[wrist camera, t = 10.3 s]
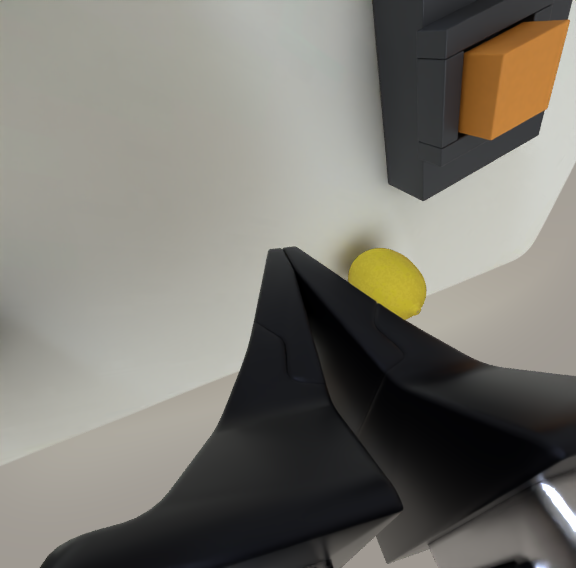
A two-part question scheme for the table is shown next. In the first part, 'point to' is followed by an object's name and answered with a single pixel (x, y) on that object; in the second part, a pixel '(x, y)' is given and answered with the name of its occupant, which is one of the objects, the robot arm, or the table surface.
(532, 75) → the key
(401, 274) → the lemon
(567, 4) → the push button
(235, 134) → the table surface
